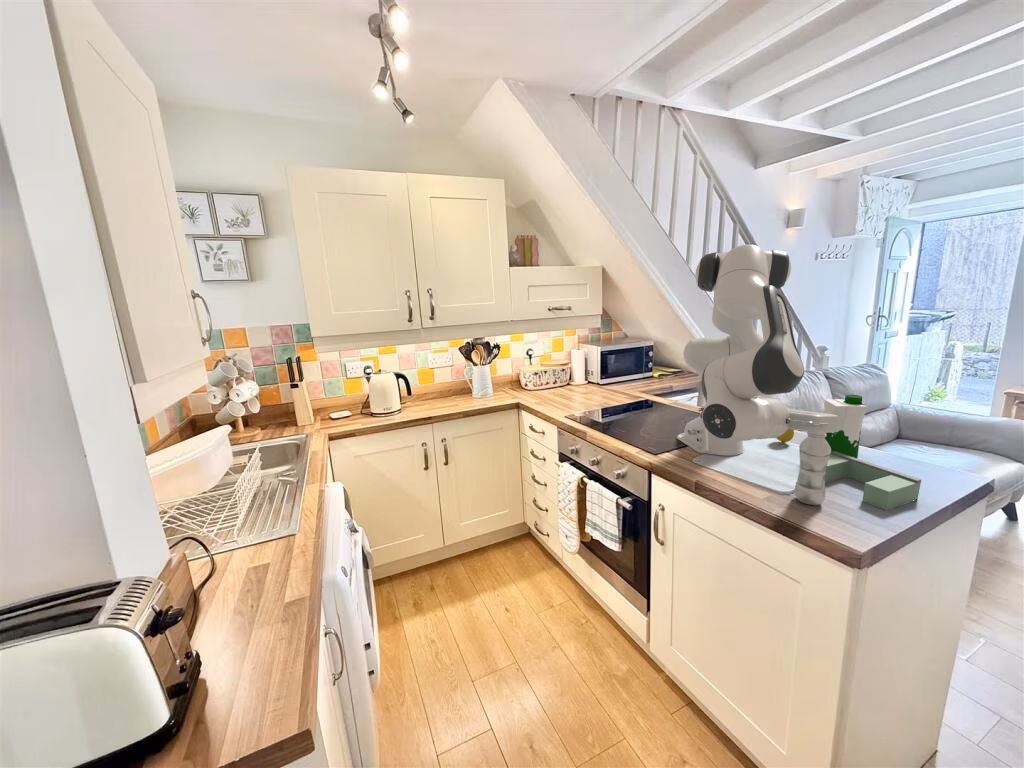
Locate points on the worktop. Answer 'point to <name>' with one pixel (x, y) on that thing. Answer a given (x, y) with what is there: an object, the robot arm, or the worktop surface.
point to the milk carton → (846, 424)
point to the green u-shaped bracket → (874, 481)
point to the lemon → (786, 436)
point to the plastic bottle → (812, 469)
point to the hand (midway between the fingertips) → (799, 416)
